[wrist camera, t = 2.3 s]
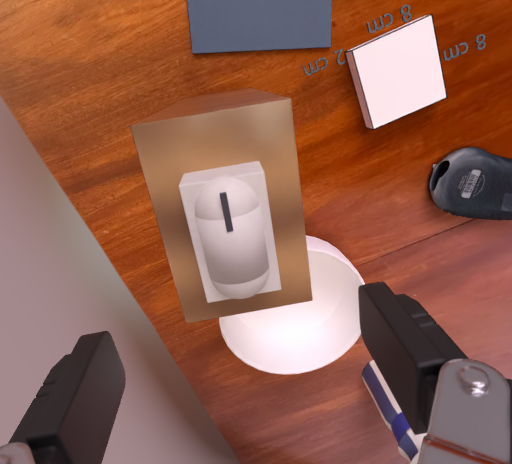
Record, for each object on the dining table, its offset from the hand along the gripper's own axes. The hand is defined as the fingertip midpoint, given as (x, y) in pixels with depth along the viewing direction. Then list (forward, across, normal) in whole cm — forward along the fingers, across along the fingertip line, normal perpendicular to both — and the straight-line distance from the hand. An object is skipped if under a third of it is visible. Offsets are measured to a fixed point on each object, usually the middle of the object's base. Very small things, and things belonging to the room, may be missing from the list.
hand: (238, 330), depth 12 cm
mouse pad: (+37, -7, -16) cm, 41 cm away
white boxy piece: (+9, 0, 0) cm, 9 cm away
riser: (+37, 0, 0) cm, 37 cm away
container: (+37, -21, -6) cm, 43 cm away
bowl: (+37, -5, +22) cm, 44 cm away
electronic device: (+37, -34, +11) cm, 52 cm away
